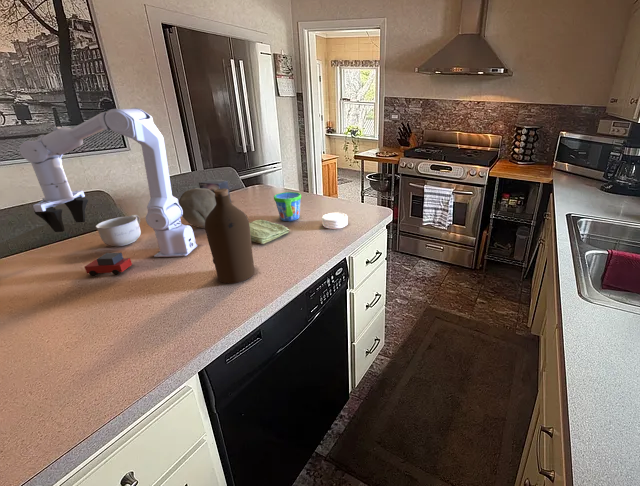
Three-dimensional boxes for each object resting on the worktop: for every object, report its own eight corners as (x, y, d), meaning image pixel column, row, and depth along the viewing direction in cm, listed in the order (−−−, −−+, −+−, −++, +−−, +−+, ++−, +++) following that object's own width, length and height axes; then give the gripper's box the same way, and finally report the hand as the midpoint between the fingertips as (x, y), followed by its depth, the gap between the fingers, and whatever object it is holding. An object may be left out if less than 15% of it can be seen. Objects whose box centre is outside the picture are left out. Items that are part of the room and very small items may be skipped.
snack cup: (279, 213, 141) (276, 190, 137) (304, 211, 143) (302, 189, 139) (274, 226, 126) (270, 201, 123) (302, 224, 129) (299, 200, 125)
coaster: (336, 231, 123) (335, 222, 122) (317, 225, 128) (316, 217, 126) (353, 223, 131) (352, 215, 130) (334, 218, 136) (334, 210, 134)
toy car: (133, 266, 95) (128, 251, 94) (122, 275, 91) (117, 259, 89) (99, 268, 94) (94, 252, 93) (86, 276, 90) (80, 260, 88)
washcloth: (262, 246, 110) (261, 237, 108) (230, 235, 118) (228, 227, 117) (292, 233, 120) (291, 225, 119) (261, 224, 128) (260, 216, 127)
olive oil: (265, 270, 95) (252, 187, 86) (235, 288, 86) (218, 197, 77) (237, 263, 99) (223, 183, 90) (206, 280, 89) (186, 192, 80)
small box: (202, 204, 150) (197, 182, 147) (211, 200, 156) (207, 178, 153) (222, 205, 149) (218, 183, 145) (231, 201, 155) (228, 180, 151)
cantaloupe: (232, 221, 131) (226, 185, 126) (207, 234, 118) (199, 195, 113) (201, 218, 133) (194, 183, 128) (173, 231, 120) (163, 192, 115)
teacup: (120, 251, 105) (113, 228, 102) (93, 247, 107) (85, 225, 104) (158, 234, 118) (153, 213, 115) (134, 231, 120) (128, 211, 117)
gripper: (60, 177, 99) (75, 218, 104) (13, 189, 86) (33, 236, 91) (85, 176, 100) (99, 217, 105) (42, 189, 87) (61, 235, 91)
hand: (70, 226), depth 98 cm, fingers open, 7 cm apart
